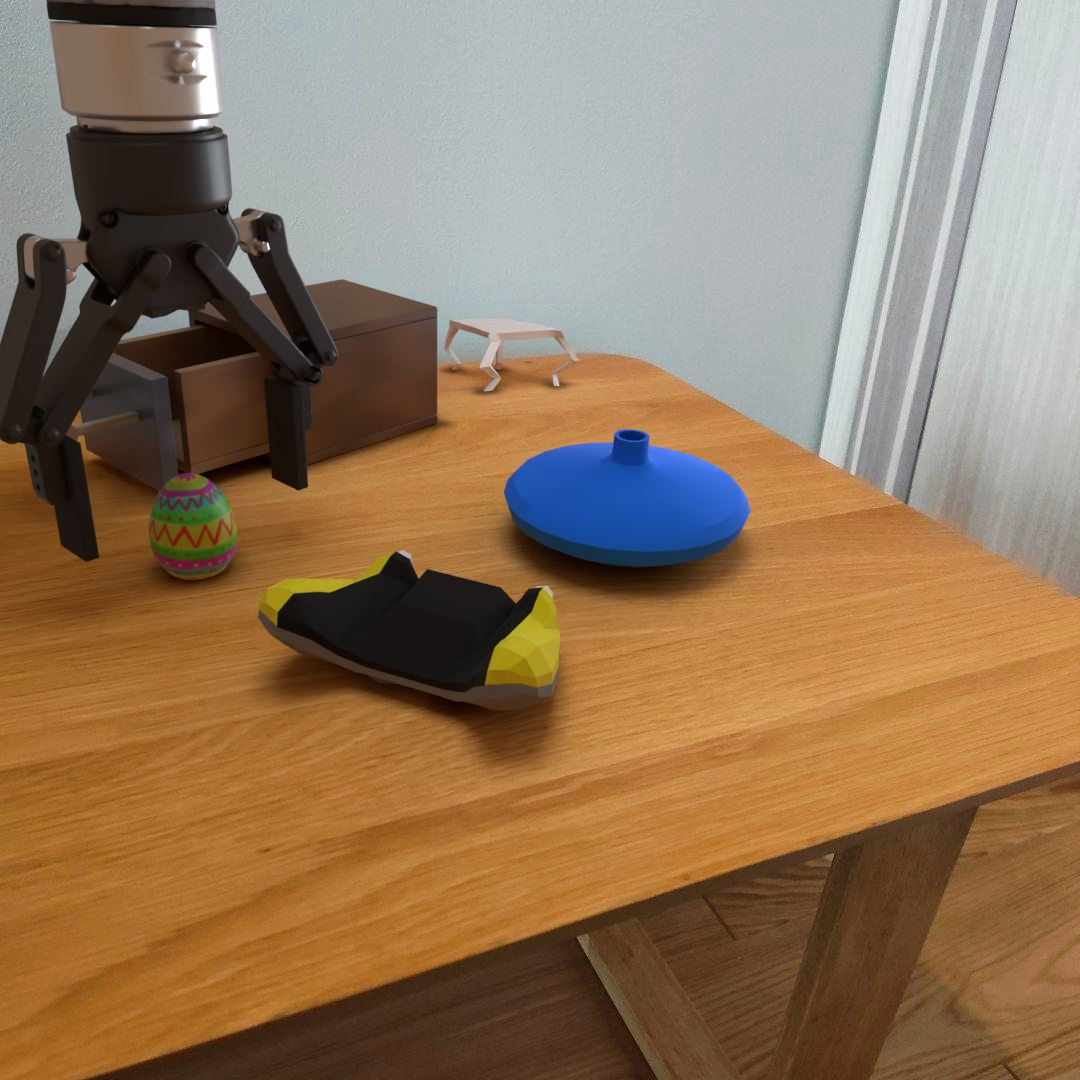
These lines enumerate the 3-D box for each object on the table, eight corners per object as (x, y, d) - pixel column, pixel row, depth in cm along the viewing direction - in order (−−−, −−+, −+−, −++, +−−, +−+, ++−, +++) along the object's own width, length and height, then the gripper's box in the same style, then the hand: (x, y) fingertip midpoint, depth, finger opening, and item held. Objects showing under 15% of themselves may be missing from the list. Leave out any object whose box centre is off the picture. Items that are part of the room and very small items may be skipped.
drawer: (80, 519, 66) (60, 400, 62) (5, 470, 72) (-17, 359, 68) (328, 443, 79) (323, 341, 76) (246, 407, 85) (238, 311, 82)
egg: (144, 587, 61) (130, 491, 58) (165, 548, 65) (153, 457, 62) (231, 587, 61) (222, 493, 58) (246, 548, 65) (238, 458, 63)
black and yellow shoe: (525, 775, 47) (600, 664, 56) (529, 673, 45) (608, 572, 53) (246, 689, 52) (354, 598, 61) (237, 592, 50) (351, 511, 58)
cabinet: (289, 470, 76) (281, 340, 72) (199, 427, 83) (187, 306, 79) (437, 423, 86) (437, 306, 82) (346, 388, 93) (342, 278, 89)
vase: (473, 574, 64) (475, 465, 61) (533, 475, 78) (537, 383, 74) (737, 613, 61) (753, 502, 58) (750, 504, 75) (764, 409, 72)
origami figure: (445, 394, 93) (445, 339, 91) (443, 365, 100) (444, 313, 98) (580, 395, 94) (584, 341, 92) (569, 366, 102) (572, 316, 99)
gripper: (-97, 143, 41) (4, 614, 51) (391, 119, 58) (398, 475, 68) (-166, 125, 46) (-61, 562, 55) (307, 108, 63) (325, 444, 72)
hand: (193, 515), depth 61 cm, fingers open, 13 cm apart
